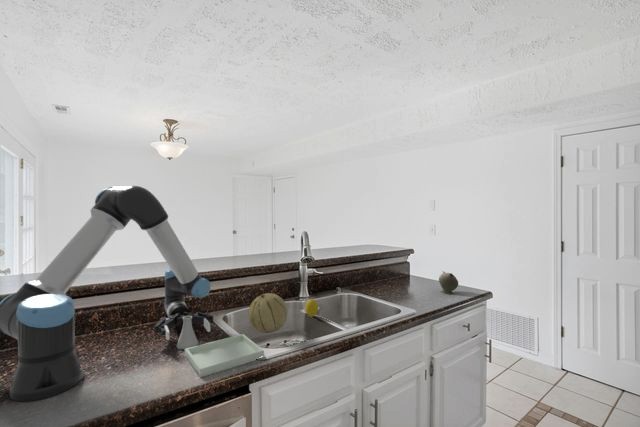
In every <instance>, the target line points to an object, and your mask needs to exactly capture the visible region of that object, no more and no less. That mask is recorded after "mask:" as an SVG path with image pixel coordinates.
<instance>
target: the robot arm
mask: <svg viewBox="0 0 640 427" xmlns="http://www.w3.org/2000/svg"><path fill="white" fill-rule="evenodd" d="M90 215H91V216H90V217H89V218H88V220H86V222H85V223H84V224H83V225H82V226H81V228H80V229H79V230H78V231H77V232H76V234H75V235H74V236H73V237H72V238H71V239H70V240H69V241H68V243H67V244H66V245H65V246H64V247H63V248H62V249H61V250H60V252H58V254H57V255H56V256H55V257H54V258H53V260H52V261H50V263H49V264H48V265H47V266H46V268H45V269H43V271H42V272H41V273H40V274H39V276H38V277H36V278H35V279H34V280H29V281H26V282H25V283H23V285H22V286H21V287H20V288H19V289H18V290H17V291H16V292H13V293H12V294H10V295H7V296H5V297H4V298H3V299H2V300H1V301H0V331H1V332H2V333H3V334H5V335H8V336H10V337H12V338H13V339H15V340H17V355H18V358H17V359H18V364H17V367H16V369H15V373H14V376H13V379H12V381H11V383H10V386H9V398H10V399H12V400H13V401H18V402H32V401H37V400H38V401H39V400H43V399H46V398H50V397H54V396H57V395H59V394H61V393H63V392H66V391H68V390H70V389H72V388H73V387H74V386H77V385H78V384H79V383H80V382H81V381H82V380H83V378H84V367H83V365H82V364H81V361H80V358H79V356H78V354H77V351H76V346H75V344H76V335H75V334H76V332H75V331H76V330H75V320H76V319H75V315H76V314H75V313H76V308H75V306H74V305H75V303H74V300H73V298H72V297H70V296H69V295H66V294H67V292H68V290H70V288H71V287H72V286H73V284H74V283H75V282H76V281H77V279H78V278H79V277H80V276H81V274H82V273H83V272H84V271H85V269H86V268H87V267H88V265H89V264H90V263H91V262H92V261H93V260H94V259H95V257H96V256H97V255H98V254H99V253H100V251H101V250H102V248H103V247H104V246H105V245H106V243H107V242H108V241H109V240H110V239H111V237H112V236H113V235H114V234H115V233H116V232H117V231H121V230H124V229H125V227H126V226H127V225H128V224H129V222H130V221H131V220H132V221H133V222H135V223H136V224H137V225H138V226H139V228H140V229H141V231H146V232H147V234H148V236H149V237H150V238H151V240H152V242H153V244H154V245H155V246H156V248H157V249H158V251H159V252H160V254H161V256H162V257H163V259H164V260H165V262H166V263H167V265H168V266H169V268H168V269H166V270H165V272H164V301H165V302H163V310H164V311H165V313H166V314H167V317H165V316H161V318H160V320H158V322H157V323H156V324H155V325H154V327H153V328H154V329H153V330H154V332H153V333H154V334H155V335H157V334H159V333H160V336H165V338H166V339H165V340H166V341H170V329H172V328H174V327H176V326H177V327H179V326H183V319H182V318H183V317H184V316H192V319H191V321H192V324H198V325H203V327H204V329H205V330H206V331H207V333H210V332H211V326H212V324H214V316H213V315H211V314H207V313H205V312H201V311H200V310H197V311H196V313H193V312H191V310H190V308H189V307H188V306H187V304H186V302H185V301H186V300H185V298H186V297H185V296H189V297H192V298H199V299H202V298H205V297H207V296H208V294H209V293H210V291H211V287H212V286H211V282H210V281H209V279H207V278H205V277H202V276H201V275H200V273H199V271H198V270H197V268H196V267H195V265H194V263H193V261H192V260H191V258H190V256H189V255H188V253H187V251H186V250H185V248H184V246H183V245H182V243H181V241H180V239H179V237H178V236H177V234H176V233H175V231H174V230H173V227H172V226H171V225H170V224H171V223H170V222H169V221H168V219H169V215H168V213H167V211H166V210H165V208H164V207H163V204H162V203H161V202H160V200H158V198H157V197H156V196H155V194H153V193H152V192H150V191H149V190H148V189H147V188H144V187H142V186H138V185H128V186H125V185H124V186H123V185H122V186H120V185H115V186H110V187H106V188H104V189H102V190H101V191H100V192H99V193H98V194H97V195H96V197H95V201H94V206H92V207H91V209H90Z"/></svg>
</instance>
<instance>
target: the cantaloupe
mask: <svg viewBox="0 0 640 427" xmlns="http://www.w3.org/2000/svg"><path fill="white" fill-rule="evenodd" d="M248 317H249V321H250V324H251V326H252V327H253V329H254V330H256V331H257V332H259V333H263V334H270V333H271V334H272V333H274V332H277V331H279V330H280V329H282V327H284V325H285V323H286V321H287V318H288V306H287V304H286V302H285V301H284V300H283V298H282V297H281V296H279V295H278V294H275V293H272V292H269V293H262V294H260V295H259V296H257V297H256V298H254V300H253V301H252V302H251V303H250V306H249V309H248Z"/></svg>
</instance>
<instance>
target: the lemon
mask: <svg viewBox="0 0 640 427" xmlns="http://www.w3.org/2000/svg"><path fill="white" fill-rule="evenodd" d="M304 306H305V308H304V311H305V312H306V314H307V316H309V317H310V318H313V317H314V316H315V315H317V314H318V311H319V305H318V302H317V301H316V300H315V299H313V298H310V299H308V300H307V301H306V303H305V305H304Z"/></svg>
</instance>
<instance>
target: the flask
mask: <svg viewBox="0 0 640 427" xmlns="http://www.w3.org/2000/svg"><path fill="white" fill-rule="evenodd" d="M182 319H183V325H182V329H181V332H180V334H179V338H178V340H177V343H176V346H175V347H176V348H177V350H185V349H186V348H190V347H194V346H198V345H200V344H199V341H198V339H197V336H196V333H195V330H194V328H193V323H192V321H191V319H192V316H184V317H183V318H182Z"/></svg>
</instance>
